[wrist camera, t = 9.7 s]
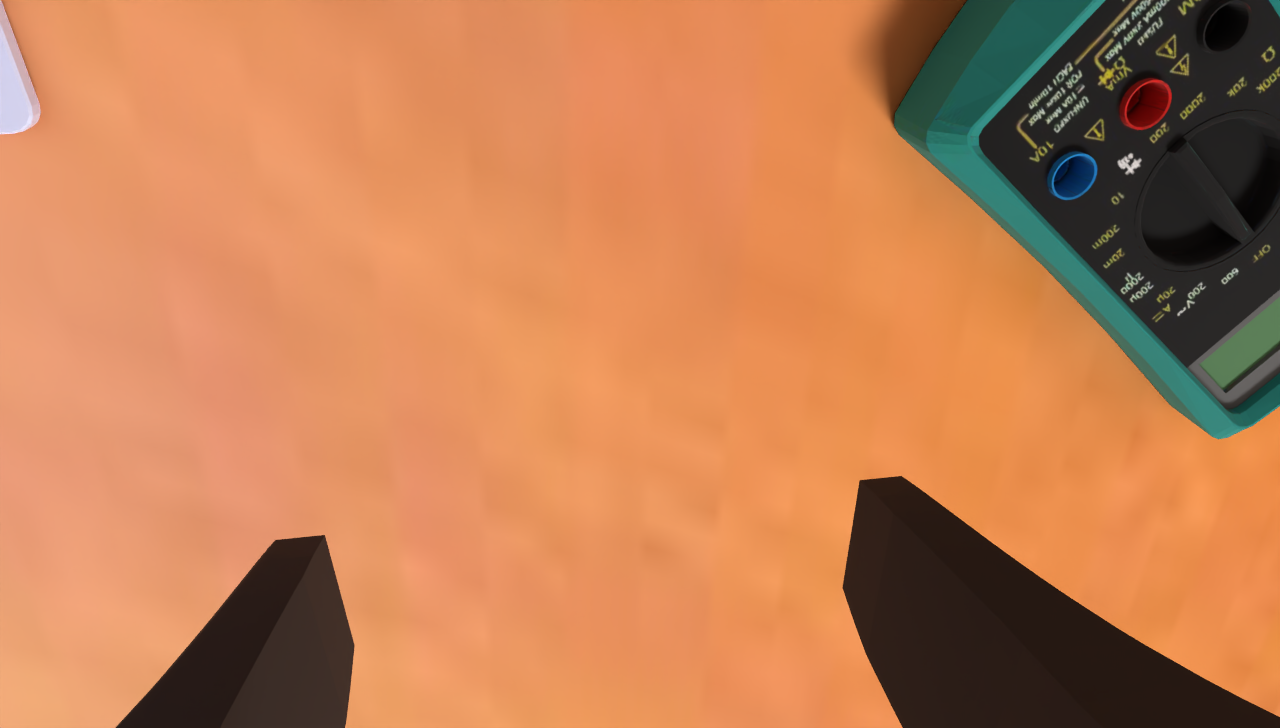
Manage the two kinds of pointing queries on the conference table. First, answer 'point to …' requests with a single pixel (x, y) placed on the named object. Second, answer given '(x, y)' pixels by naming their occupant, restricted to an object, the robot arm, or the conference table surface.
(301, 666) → the robot arm
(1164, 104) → the digital multimeter
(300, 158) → the conference table surface
